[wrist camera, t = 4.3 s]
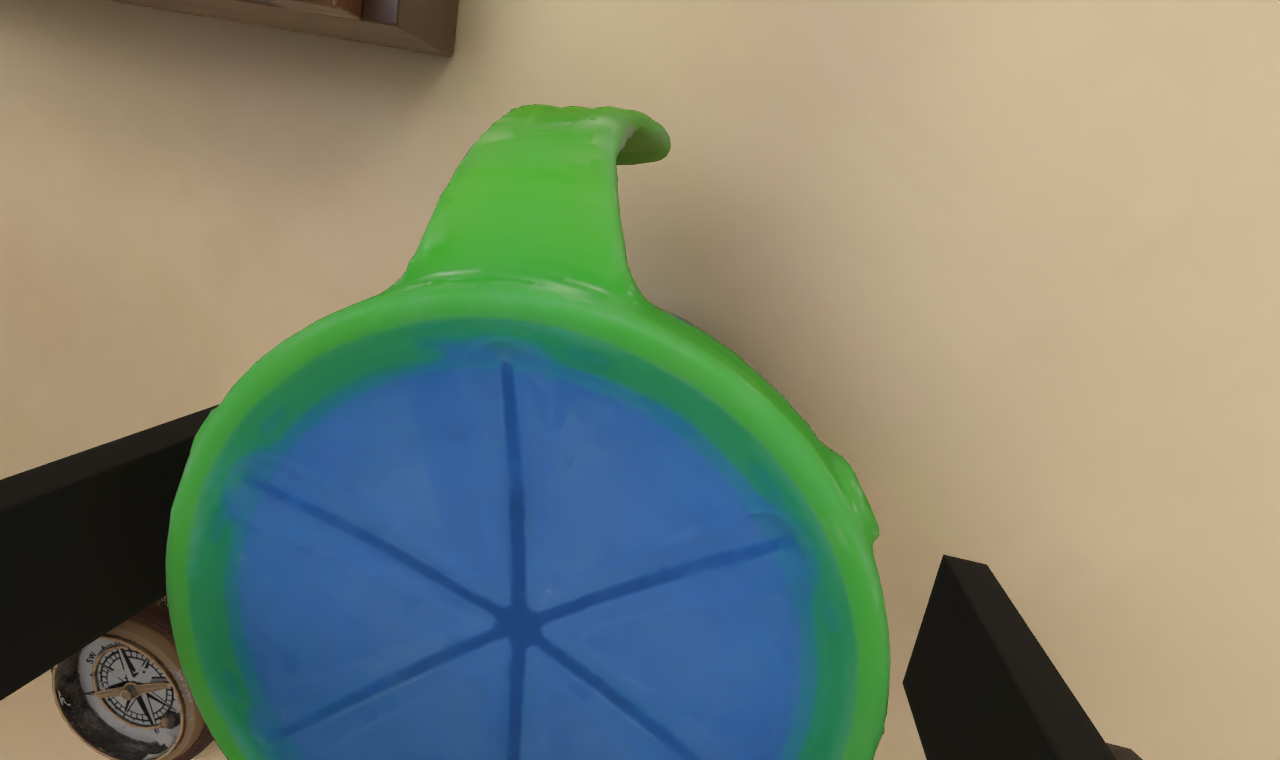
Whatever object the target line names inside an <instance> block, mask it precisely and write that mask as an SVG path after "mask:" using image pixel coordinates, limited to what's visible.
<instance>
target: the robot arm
mask: <svg viewBox="0 0 1280 760" xmlns="http://www.w3.org/2000/svg"><path fill="white" fill-rule="evenodd" d="M219 405H220V404H219ZM219 405H216V406H213V407H210V408H208V409H205V410H202V411H199V412H196V413H193V414H190V415H187V416H184V417H181V418H179V419H176V420H173V421H170V422H167V423H164V424H161V425H158V426H155V427H152V428H150V429H147V430H144V431H141V432H138V433H135V434H132V435H129V436H126V437H123V438H121V439H118V440H115V441H112V442H109V443H106V444H103V445H100V446H97V447H94V448H92V449H89V450H86V451H83V452H80V453H77V454H74V455H71V456H68V457H66V458H63V459H60V460H57V461H54V462H51V463H48V464H45V465H42V466H39V467H37V468H34V469H31V470H28V471H25V472H22V473H19V474H16V475H13V476H10V477H8V478H5V479H2V480H0V701H1V700H2V699H4V698H5V697H7V696H9V695H10V694H12V693H13V692H15V691H16V690H18V689H20V688H21V687H23V686H24V685H26V684H27V683H29V682H31V681H32V680H34V679H35V678H37V677H38V676H40V675H42V674H43V673H45V672H46V671H48V670H49V669H51V668H53V667H54V666H56V665H57V664H59V663H60V662H62V661H64V660H65V659H67V658H68V657H70V656H71V655H73V654H75V653H76V652H78V651H79V650H81V649H82V648H84V647H86V646H87V645H89V644H90V643H92V642H93V641H95V640H97V639H98V638H100V637H101V636H103V635H104V634H106V633H107V632H109V631H111V630H112V629H114V628H115V627H117V626H118V625H120V624H122V623H123V622H125V621H126V620H128V619H129V618H131V617H133V616H134V615H136V614H137V613H139V612H140V611H142V610H144V609H145V608H147V607H148V606H150V605H151V604H153V603H155V602H156V601H158V600H159V599H161V598H162V597H164V596H166V595H167V592H166V561H165V560H166V549H167V540H168V532H169V524H170V515H171V509H172V506H173V502H174V499H175V496H176V493H177V490H178V487H179V484H180V481H181V478H182V475H183V472H184V469H185V466H186V463H187V461H188V457H189V456H190V450H191V447H192V444H193V441H194V438H195V436H196V434H197V432H198V430H199V429H200V427H201V426H202V424H203V423H204V421H205V420H206V418H207V417H208V415H209V414H210V412H211V410H213V409H215V408H216V407H218V406H219ZM903 686H904V689H905V692H906V695H907V698H908V702H909V705H910V708H911V711H912V714H913V718H914V721H915V724H916V727H917V730H918V733H919V737H920V740H921V743H922V746H923V749H924V752H925V756H926V759H927V760H1142V759H1141V758H1140V757H1139V756H1138V755H1137V754H1136V753H1134V752H1133V751H1132V750H1131V749H1128V748H1124V747H1120V746H1116V745H1112V744H1109V743H1105V741H1104V740H1103V738H1102V737H1101V735H1100V734H1099V732H1098V731H1097V729H1096V728H1095V726H1094V725H1093V723H1092V722H1091V720H1090V719H1089V717H1088V716H1087V714H1086V713H1085V711H1084V710H1083V708H1082V707H1081V705H1080V704H1079V702H1078V701H1077V699H1076V698H1075V696H1074V695H1073V693H1072V692H1071V690H1070V689H1069V687H1068V686H1067V684H1066V683H1065V681H1064V680H1063V678H1062V677H1061V675H1060V674H1059V672H1058V671H1057V669H1056V668H1055V666H1054V665H1053V663H1052V662H1051V660H1050V659H1049V657H1048V656H1047V654H1046V653H1045V651H1044V650H1043V648H1042V647H1041V645H1040V644H1039V642H1038V641H1037V639H1036V638H1035V636H1034V635H1033V633H1032V632H1031V630H1030V629H1029V627H1028V626H1027V624H1026V623H1025V621H1024V620H1023V618H1022V617H1021V615H1020V614H1019V612H1018V611H1017V609H1016V608H1015V606H1014V605H1013V603H1012V602H1011V600H1010V599H1009V597H1008V596H1007V594H1006V593H1005V591H1004V590H1003V588H1002V587H1001V585H1000V584H999V582H998V581H997V579H996V578H995V576H994V575H993V573H992V572H991V570H990V569H989V567H988V566H987V565H986V564H982V563H977V562H973V561H969V560H964V559H960V558H956V557H951V556H947V555H943V557H942V560H941V564H940V567H939V570H938V573H937V576H936V579H935V583H934V586H933V589H932V592H931V595H930V598H929V601H928V605H927V608H926V611H925V614H924V617H923V620H922V623H921V627H920V630H919V633H918V636H917V639H916V642H915V645H914V649H913V652H912V655H911V658H910V661H909V664H908V667H907V671H906V674H905V677H904V680H903Z"/></svg>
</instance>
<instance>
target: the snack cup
mask: <svg viewBox="0 0 1280 760" xmlns="http://www.w3.org/2000/svg"><path fill="white" fill-rule="evenodd" d="M670 147H671V146H670V137H669V135H668V133H667V132H666V130H665V129H664V128H663V127H662V125H660V124H659V123H657V122H655V121H654V120H652V119H651V118H650V117H648V116H647V115H645V114H643V113H640V112H637V111H633V110H625V109H620V108H615V107H599V108H595V109H590V108H584V107H577V106H570V107H563V108H559V107H554V106H549V105H537V104H535V105H526V106H521V107H519V108H515V109H512V110H511V111H510V112H508V113H507V114H506V115H504V116H503V117H502V118H501V119H500V120H499V121H497V122H495V123H494V124H492V126H491V127H490V128H489V130H488V131H487V132H486V133H484V134H483V135H482V136H481V137H480V139H479V140H478V141H477V142H476V143H475V144H473V145H472V147H471V148H470V150H469V151H468V153H467V154H466V156H465V157H464V159H463V160H462V162H461V163H460V165H459V166H458V168H457V169H456V171H455V173H454V175H453V177H452V179H451V181H450V183H449V184H448V186H447V187H446V189H445V190H444V192H443V193H442V195H441V196H440V199H439V201H438V203H437V206H436V208H435V210H434V213H433V215H432V218H431V220H430V222H429V224H428V226H427V228H426V231H425V233H424V235H423V237H422V240H421V242H420V244H419V247H418V249H417V251H416V254H415V255H414V257H413V258H412V259H411V261H410V262H409V264H408V267H407V270H406V272H405V273H404V274H403V276H402V277H401V279H399V280H398V281H397V282H396V283H395V284H394V285H392V286H391V287H390V288H388V289H387V290H386V291H384V292H382V293H380V294H379V295H376V296H374V297H371V298H369V299H366V300H364V301H361V302H359V303H356V304H353V305H351V306H349V307H346V308H344V309H342V310H339V311H337V312H335V313H332V314H330V315H328V316H326V317H324V318H322V319H319V320H317V321H316V322H314V323H312V324H311V325H309V326H307V327H306V328H304V329H303V330H301V331H299V332H298V333H296V334H294V335H293V336H291V337H289V338H288V339H286V340H284V341H283V342H282V343H280V344H279V345H278V346H276V347H275V348H274V349H272V350H271V351H270V352H268V353H267V354H266V355H264V356H263V357H262V358H261V359H260V360H259V361H257V362H256V363H255V364H254V365H253V366H252V367H251V368H250V369H249V370H248V371H247V372H246V373H245V374H244V375H243V376H242V377H241V378H240V379H239V380H238V381H237V382H236V383H235V385H234V386H233V387H232V388H231V390H230V391H229V393H228V394H227V395H226V397H225V398H224V400H223V401H222V403H221V404H220V405H219V406H218V407H216V408H215V409H213V410H211V412H210V414H209V415H208V417H207V418H206V420H205V421H204V423H203V424H202V426H201V427H200V429H199V430H198V432H197V434H196V436H195V438H194V441H193V444H192V447H191V450H190V456H189V457H188V461H187V463H186V466H185V469H184V472H183V475H182V478H181V481H180V484H179V487H178V490H177V493H176V496H175V499H174V502H173V506H172V509H171V515H170V524H169V532H168V540H167V549H166V560H165V561H166V592H167V602H168V609H169V616H170V621H171V626H172V631H173V637H174V640H175V645H176V649H177V653H178V658H179V661H180V665H181V668H182V670H183V673H184V675H185V678H186V680H187V683H188V685H189V688H190V690H191V693H192V695H193V697H194V700H195V702H196V704H197V707H198V709H199V711H200V713H201V716H202V718H203V719H204V721H205V723H206V725H207V727H208V728H209V730H210V732H211V734H212V736H213V737H214V739H215V741H216V743H217V745H218V746H219V748H220V749H221V751H222V752H223V754H224V755H225V757H226V758H227V760H873V758H874V755H875V752H876V749H877V747H878V744H879V742H880V739H881V737H882V735H883V734H884V722H885V718H886V714H887V705H888V695H889V679H890V647H889V631H888V624H887V617H886V610H885V604H884V598H883V592H882V587H881V583H880V578H879V574H878V570H877V566H876V563H875V559H874V555H873V548H872V546H873V542H874V541H875V540H876V539H877V537H878V536H879V527H878V523H877V521H876V519H875V516H874V514H873V512H872V509H871V507H870V505H869V503H868V500H867V498H866V496H865V494H864V492H863V490H862V488H861V486H860V483H859V481H858V479H857V477H856V474H855V473H854V471H853V469H852V468H851V466H850V465H849V464H848V463H847V461H846V460H845V459H844V458H843V457H842V456H840V455H839V454H837V453H836V452H834V451H833V450H831V449H829V448H828V447H826V446H825V445H824V444H822V443H821V442H820V441H819V439H818V438H817V437H816V435H815V434H814V432H813V431H812V429H811V428H810V426H809V425H808V423H807V422H806V421H805V420H804V419H803V418H802V417H801V416H800V415H799V414H798V413H797V412H796V411H795V410H794V409H793V407H792V406H791V405H790V404H789V403H788V401H787V400H786V399H785V398H784V397H783V396H782V395H781V394H780V393H779V392H777V391H776V390H775V389H774V388H773V387H772V386H771V385H770V384H769V383H768V382H767V381H766V380H765V379H764V378H762V377H761V376H760V375H759V374H758V373H757V372H755V371H754V370H753V369H752V368H751V367H750V366H749V365H748V364H747V363H746V362H745V361H744V360H743V359H741V358H740V357H739V356H738V355H737V354H736V353H734V352H733V351H731V350H730V349H728V348H727V347H725V346H724V345H723V344H721V343H720V342H718V341H717V340H715V339H714V338H712V337H711V336H710V335H708V334H707V333H705V332H704V331H702V330H700V329H698V328H697V327H695V326H693V325H691V324H690V323H688V322H686V321H684V320H683V319H681V318H680V317H678V316H676V315H674V314H671V313H668V312H666V311H663V310H661V309H659V308H658V307H656V306H654V305H653V304H652V303H650V302H649V301H647V300H646V299H645V298H644V297H643V295H642V294H641V292H640V291H639V289H638V287H637V286H636V284H635V282H634V280H633V278H632V275H631V272H630V270H629V267H628V265H627V257H626V250H625V243H624V237H623V232H622V226H621V220H620V209H619V199H618V185H617V182H618V177H617V168H616V165H634V164H641V163H648V162H655V161H659V160H662V159H663V158H664V157H666V156H667V154H668V152H669V150H670Z"/></svg>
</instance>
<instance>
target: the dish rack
mask: <svg viewBox="0 0 1280 760" xmlns="http://www.w3.org/2000/svg"><path fill="white" fill-rule="evenodd" d="M111 1H117V2H123V3H129V4H135V5H141V6H147V7H153V8H159V9H165V10H172V11H178V12H184V13H190V14H196V15H202V16H208V17H214V18H220V19H226V20H232V21H238V22H244V23H250V24H256V25H262V26H268V27H274V28H280V29H286V30H292V31H299V32H305V33H311V34H317V35H323V36H329V37H335V38H341V39H347V40H353V41H359V42H365V43H371V44H377V45H383V46H389V47H395V48H401V49H407V50H413V51H420V52H426V53H432V54H438V55H444V56H450V57H451V56H453V52H454V42H455V32H456V21H457V11H458V1H459V0H111Z"/></svg>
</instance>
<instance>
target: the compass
mask: <svg viewBox="0 0 1280 760" xmlns="http://www.w3.org/2000/svg"><path fill="white" fill-rule="evenodd" d="M51 672H52V689H53V693H54V698H55V702H56V705H57V707H58V709H59V711H60V713H61V716H62V718H63V719H64V720H65V722H66V723H67V725H68V726H69V728H70V729H71V730H72V732H73V733H74V734H75V735H76V736H77V737H78V738H79V739H80V740H81V741H82V742H83V743H84V744H86V745H87V746H89V747H90V748H92V749H93V750H94V751H96V752H97V753H99V754H101V755H103V756H105V757H107V758H110V759H112V760H190V759H192V758H193V757H194V756H196V755H197V754H199V753H200V752H201V751H203V750H204V749H205V748H206V747H207V746H208V745H209V744H210V743H211V742H212V741H213V740H214V737H213V736H212V734H211V732H210V730H209V728H208V727H207V725H206V723H205V721H204V719H203V718H202V716H201V713H200V711H199V709H198V707H197V704H196V702H195V700H194V697H193V695H192V693H191V690H190V688H189V685H188V683H187V680H186V678H185V675H184V673H183V670H182V668H181V665H180V661H179V658H178V653H177V649H176V645H175V640H174V637H173V631H172V626H171V621H170V616H169V610H167V609H165V608H164V607H162V606H160V605H157V604H154V603H153V604H151V605H150V606H148V607H147V608H145V609H144V610H142V611H140V612H139V613H137V614H136V615H134V616H133V617H131V618H129V619H128V620H126V621H125V622H123V623H122V624H120V625H118V626H117V627H115V628H114V629H112V630H111V631H109V632H107V633H106V634H104V635H103V636H101V637H100V638H98V639H97V640H95V641H93V642H92V643H90V644H89V645H87V646H86V647H84V648H82V649H81V650H79V651H78V652H76V653H75V654H73V655H71V656H70V657H68V658H67V659H65V660H64V661H62V662H60V663H59V664H57V665H56V666H54V667H53V668H51Z"/></svg>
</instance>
